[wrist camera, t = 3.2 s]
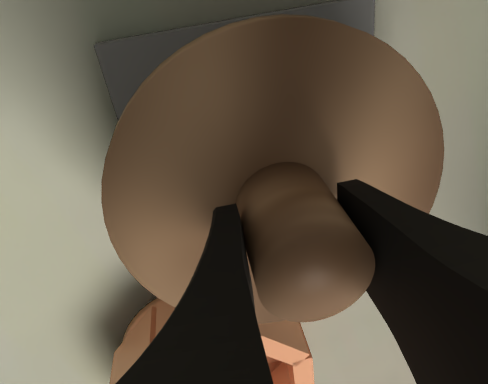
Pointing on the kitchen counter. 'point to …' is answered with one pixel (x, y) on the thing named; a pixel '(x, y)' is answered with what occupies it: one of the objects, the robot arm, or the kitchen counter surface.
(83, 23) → the kitchen counter surface
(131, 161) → the lid
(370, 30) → the mat
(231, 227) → the robot arm
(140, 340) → the bowl
